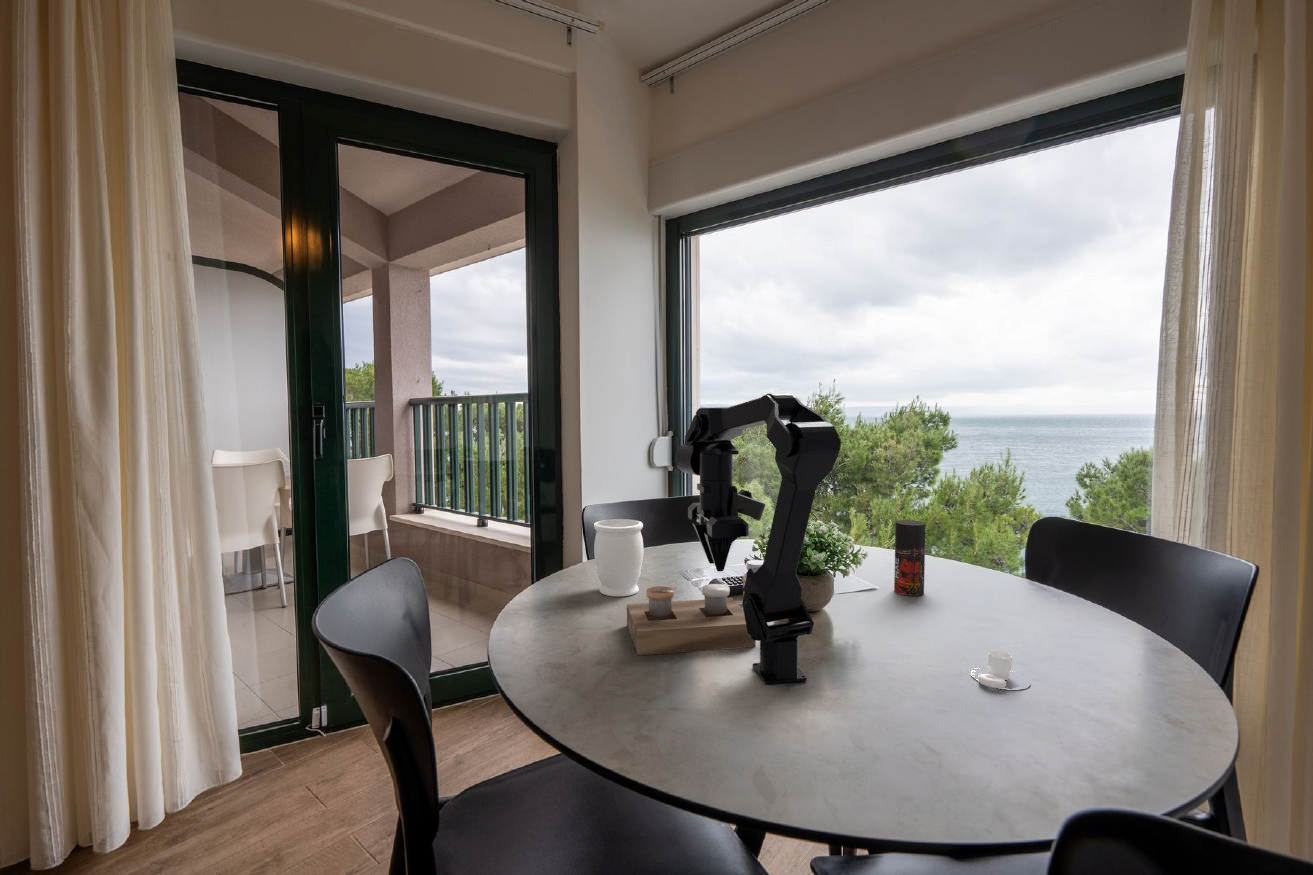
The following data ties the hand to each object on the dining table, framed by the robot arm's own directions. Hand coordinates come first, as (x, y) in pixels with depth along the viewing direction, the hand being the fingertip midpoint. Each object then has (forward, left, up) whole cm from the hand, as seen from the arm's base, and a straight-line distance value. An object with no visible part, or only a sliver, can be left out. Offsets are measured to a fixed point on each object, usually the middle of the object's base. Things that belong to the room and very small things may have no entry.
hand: (716, 567), depth 114 cm
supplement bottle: (+10, -11, -12) cm, 19 cm away
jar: (+28, +14, -12) cm, 34 cm away
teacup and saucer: (-24, -34, -13) cm, 43 cm away
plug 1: (0, +10, -8) cm, 13 cm away
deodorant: (+16, -47, -12) cm, 51 cm away
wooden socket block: (0, +5, -12) cm, 13 cm away
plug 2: (0, 0, -8) cm, 8 cm away
